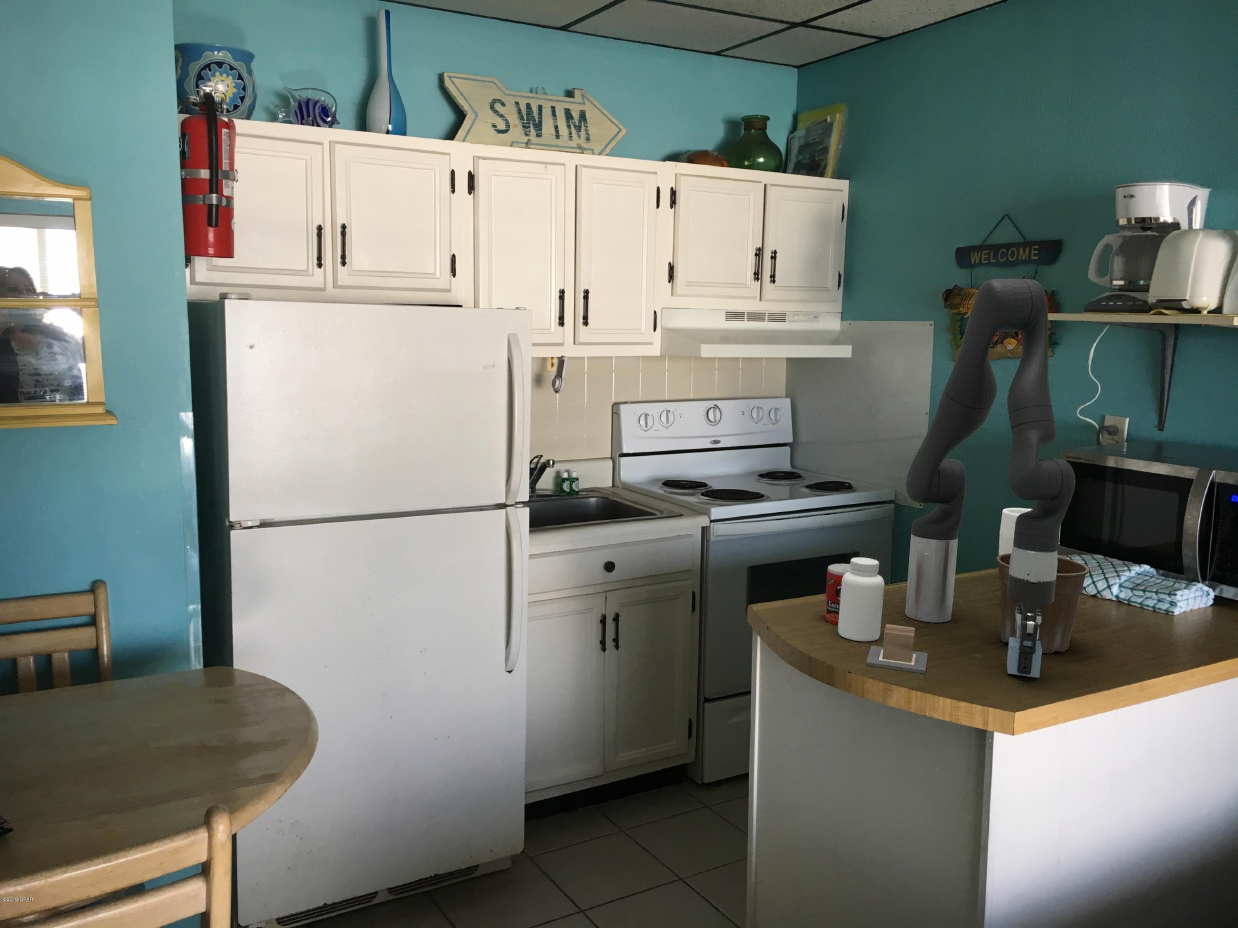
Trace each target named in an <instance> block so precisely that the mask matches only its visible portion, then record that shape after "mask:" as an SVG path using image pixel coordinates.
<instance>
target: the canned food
mask: <svg viewBox="0 0 1238 928" xmlns="http://www.w3.org/2000/svg"><path fill="white" fill-rule="evenodd" d="M850 571H851V570H850V563H834V564H830V565H828V566H827V573H826V589H825V604H824V606H825V607H824V617H825V620H826V622H827V623H830V624H832V625H836V626H838V623H839V611H840V598H841V586H842V578H843V576H844V574H846V573H847V572H850Z"/></svg>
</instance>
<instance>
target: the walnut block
mask: <svg viewBox="0 0 1238 928" xmlns="http://www.w3.org/2000/svg"><path fill="white" fill-rule="evenodd" d="M915 632H916V628H915V627H912V626H904V625H903V626H902V625H896V624H885V629H884V633H883V645H882V647H883V656H882V659H886V660H893V661H900V662H907V663H912V657H913V651H914V645H915V634H916V633H915Z"/></svg>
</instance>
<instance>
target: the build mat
mask: <svg viewBox="0 0 1238 928" xmlns="http://www.w3.org/2000/svg"><path fill="white" fill-rule="evenodd" d="M882 656H883V646H880V645H879V646H877V645H870V650H869V652H868V655H867V658H866V661H865V666H867V667H868V666H869V667H875V668H882V669H888V670H889V669H890V670H896V671H903V672H911V673H916V674H924V675H925V674H926V669H927V663H928V656H929V655H928V652H922V651H914V650H913V657H912V663H907V662H900V661H893V660H886V659H882Z"/></svg>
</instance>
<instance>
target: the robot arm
mask: <svg viewBox="0 0 1238 928" xmlns="http://www.w3.org/2000/svg"><path fill="white" fill-rule="evenodd" d="M1047 298H1048V297H1047V296H1046V291H1045V289H1044V286H1043V285H1042V284H1041V283H1040V282H1039V281H1037V280H1036V279H1029V278H993V279H989V280H987V281H985V282H984V283H982V284H981V286H980V287H979V289H978V291H977V292H976V295H975V298H974V300H973V302H972V306H971V310H970V313H969V317H968V321H967V325H966V329H965V331H964V335H963V339H962V341H961V342H962V343H961V345H960V347H959V352H958V354H957V357H956V359H955V361H954V365H953V367H952V369H951V373H950V375H949V376H948V379H947V381H946V384H945V386H944V389H943V392H942V394H941V396H940V399H939V402H938V404H937V408H936V410H935V412H934V416H933V418H932V421H931V424H930V426H929V429H928V431H927V433H926V435H925V436H924V439H923V440H922V442H921V445H920V446H919V449H918V450H917V452H916V453H915V456H914V457H913V460H912V462H911V464H910V466H909V469H908V472H907V476H906V483H905V486H906V487H905V488H906V493H907V495H908V498H909V499H910V500H911V501H913V502H915V503H918V504H931V505H932V504H933V505H935V504H937V506H936V507H935V509H934V510H932V511H931V512H929V513H927V514H926V515H924V516H920V517H917V518H915V519H914V520H913V521H912V524H911V531H910V532H911V535H910V543H909V544H910V548H909V559H908V560H909V561H908V575H907V585H906V594H905V595H906V597H905V599H906V600H905V609H904V610H905V611H904V615H905V616H907V617H908V618H910V619H912V620H916V621H920V622H928V623H946V622H950V621H951V620H952V613H953V612H952V611H953V601H954V592H955V591H954V590H955V580H956V579H955V578H956V567H957V557H958V556H957V553H958V552H957V551H958V542H959V541H958V540H959V531H960V529H961V525H962V520H963V512H964V505H965V500H966V492H967V481H968V480H967V471H966V468H965V466H964V464H963V462H961V460H958V459H954V458H946V457H947V456H948V455H949V453H950V452H951V451H953V450H954V449H955V448H957V446H959V445H960V444H962V443H963V442H965V440H967V439H968V438H969V437H971V436H972V435H973V434H974V433H975V432H977V431H978V430H979V429H980V428H981V427H982V426H983V425H984V423H985V421H986V420H987V418H988V415H989V413H990V412H991V409H992V407H993V404H994V402H995V399H996V398H997V394H998V393H997V392H998V390H997V389H998V388H997V387H998V385H997V384H998V383H997V381H996V377H995V373H994V370H993V367H992V365H991V361H990V356H989V355H990V351H991V347H992V343H993V342H994V339H995V337H996V336H997V334H999V332H1002V333H1003V332H1004V333H1005V332H1008V333H1009V332H1011V333H1012V332H1019V335H1020V340H1021V345H1022V346H1021V349H1022V351H1021V358H1020V361H1019V363H1018V367H1017V369H1016V372H1015V374H1014V376H1013V379H1012V381H1011V383H1010V386H1009V389H1008V394H1007V398H1006V399H1007V402H1006V403H1007V413H1008V419H1009V425H1010V429H1011V430H1010V432H1011V447H1010V457H1009V462H1008V471H1007V472H1008V473H1007V479H1008V484H1009V487H1010V490H1011V491H1012V492H1013V494H1014V495H1015V496H1016V497H1018V499H1021V500H1024V501H1037V502H1036V504H1035V506H1034V507H1033V508H1031V509H1032V510H1030V511H1028V512H1025V513H1022V514H1020V515H1019V516H1018V517H1017V519H1016V523H1015V531H1014V541H1013V549H1012V553H1011V557H1010V566H1009V576H1008V587H1007V597H1008V598H1009V599H1011V600H1013V601H1015V602H1019V603H1018V606H1019V608H1017V607H1016V612H1015V617H1016V624H1015V630H1016V638H1018V639H1019V647H1018V652H1019V655H1018V665H1017V672H1018V673H1019V674H1026V675H1030V674H1031V668H1032V658H1033V654H1035V652H1036V641H1037V640H1038V636H1039V624H1040V623H1041V614H1040V610H1037V607H1038V606H1040V605H1049V604H1051V603H1053V601H1054V593H1055V583H1056V573H1057V557H1058V547H1059V538H1060V537H1059V536H1060V528H1061V525H1062V523H1063V520H1064V518H1065V516H1066V513H1067V511H1068V509H1069V505H1070V503H1071V501H1072V498H1073V496H1074V493H1075V487H1076V474H1075V471H1074V469H1073V467H1072V465H1071V464H1070V463H1069V462H1068V461H1066V460H1064V459H1061V458H1039V451H1040V447H1044V446H1047V445H1049V444H1051V443H1053V442H1054V441H1056V437H1057V427H1056V423H1055V416H1054V411H1053V405H1052V403H1053V402H1052V400H1051V391H1050V383H1049V309H1048V299H1047ZM1024 641H1029V642H1031V646H1026V645H1023V643H1024Z"/></svg>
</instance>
